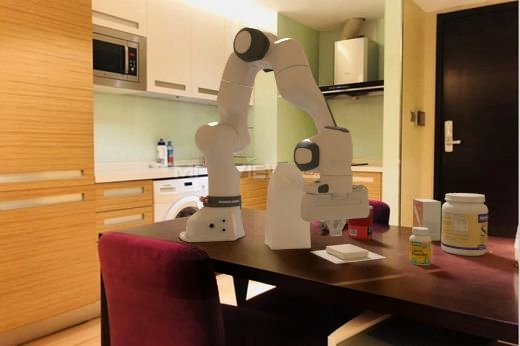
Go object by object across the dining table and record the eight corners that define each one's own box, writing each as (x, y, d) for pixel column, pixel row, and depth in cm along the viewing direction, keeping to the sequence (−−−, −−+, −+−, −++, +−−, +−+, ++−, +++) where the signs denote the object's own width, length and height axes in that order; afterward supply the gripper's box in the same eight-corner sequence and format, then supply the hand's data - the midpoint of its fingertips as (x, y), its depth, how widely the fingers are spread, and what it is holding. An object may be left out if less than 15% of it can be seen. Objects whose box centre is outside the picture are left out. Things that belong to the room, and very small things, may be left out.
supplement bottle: (430, 262, 111) (431, 227, 111) (431, 268, 106) (431, 230, 106) (409, 261, 113) (409, 225, 113) (408, 266, 108) (409, 229, 108)
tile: (343, 253, 112) (368, 250, 115) (326, 246, 120) (349, 243, 123) (343, 259, 112) (368, 256, 115) (325, 252, 121) (349, 249, 124)
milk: (300, 241, 138) (301, 162, 136) (310, 249, 126) (311, 163, 125) (264, 243, 135) (264, 162, 134) (271, 251, 124) (271, 163, 123)
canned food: (373, 241, 138) (373, 208, 137) (348, 240, 139) (348, 207, 139) (371, 236, 145) (372, 205, 145) (348, 235, 147) (348, 204, 146)
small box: (412, 235, 147) (412, 198, 146) (429, 235, 147) (430, 198, 146) (421, 240, 139) (422, 201, 138) (440, 240, 139) (441, 201, 138)
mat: (336, 265, 108) (336, 263, 108) (309, 253, 121) (309, 251, 121) (386, 259, 115) (386, 257, 115) (356, 248, 127) (356, 246, 127)
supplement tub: (486, 259, 116) (488, 197, 115) (438, 253, 122) (439, 195, 121) (487, 249, 126) (488, 193, 125) (443, 245, 132) (444, 191, 131)
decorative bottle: (334, 222, 174) (334, 206, 174) (351, 224, 170) (352, 208, 170) (308, 233, 152) (308, 215, 152) (328, 235, 148) (328, 216, 148)
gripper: (361, 183, 122) (360, 230, 123) (297, 185, 115) (297, 236, 115) (374, 185, 116) (374, 234, 117) (309, 187, 109) (308, 240, 109)
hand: (335, 235), depth 116 cm, fingers closed
